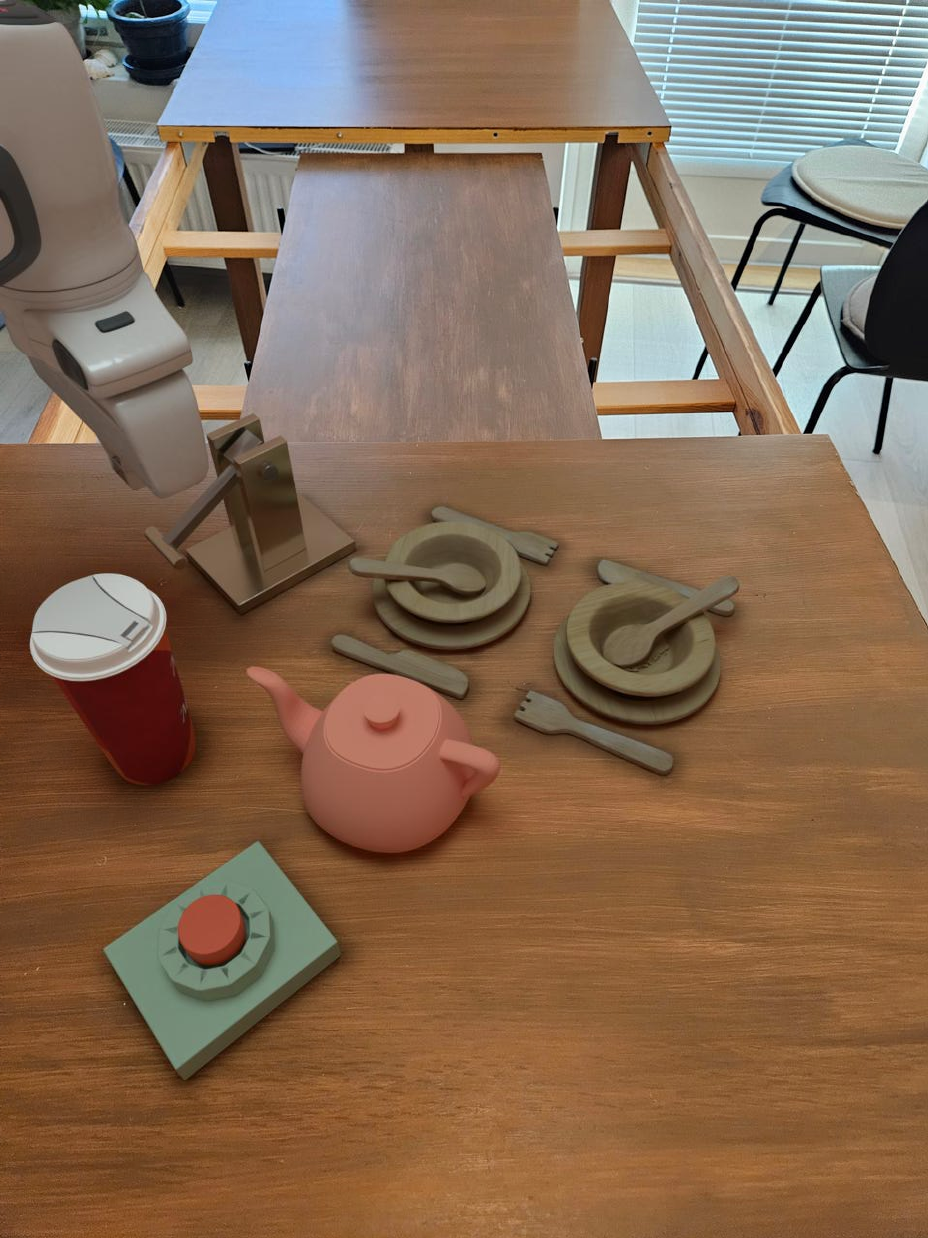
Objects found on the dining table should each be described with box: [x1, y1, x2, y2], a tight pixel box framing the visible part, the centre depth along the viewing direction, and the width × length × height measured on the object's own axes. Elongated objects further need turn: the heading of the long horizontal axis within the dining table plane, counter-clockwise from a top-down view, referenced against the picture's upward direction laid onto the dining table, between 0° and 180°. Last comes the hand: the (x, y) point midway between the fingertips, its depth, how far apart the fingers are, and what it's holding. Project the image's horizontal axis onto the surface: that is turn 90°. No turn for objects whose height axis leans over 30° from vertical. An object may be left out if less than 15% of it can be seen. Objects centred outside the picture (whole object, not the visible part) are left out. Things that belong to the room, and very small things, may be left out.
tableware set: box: [331, 506, 740, 776], centre depth 72 cm, size 30×20×6 cm, turn 64°
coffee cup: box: [29, 572, 197, 786], centre depth 60 cm, size 8×8×15 cm
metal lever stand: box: [185, 413, 357, 615], centre depth 75 cm, size 12×9×13 cm
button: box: [178, 895, 246, 966], centre depth 52 cm, size 4×4×2 cm
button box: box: [102, 840, 342, 1081], centre depth 54 cm, size 11×9×4 cm
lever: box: [143, 429, 264, 571], centre depth 71 cm, size 12×5×2 cm, turn 131°
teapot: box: [246, 666, 501, 854], centre depth 61 cm, size 12×18×10 cm
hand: (134, 477), depth 66 cm, fingers closed
